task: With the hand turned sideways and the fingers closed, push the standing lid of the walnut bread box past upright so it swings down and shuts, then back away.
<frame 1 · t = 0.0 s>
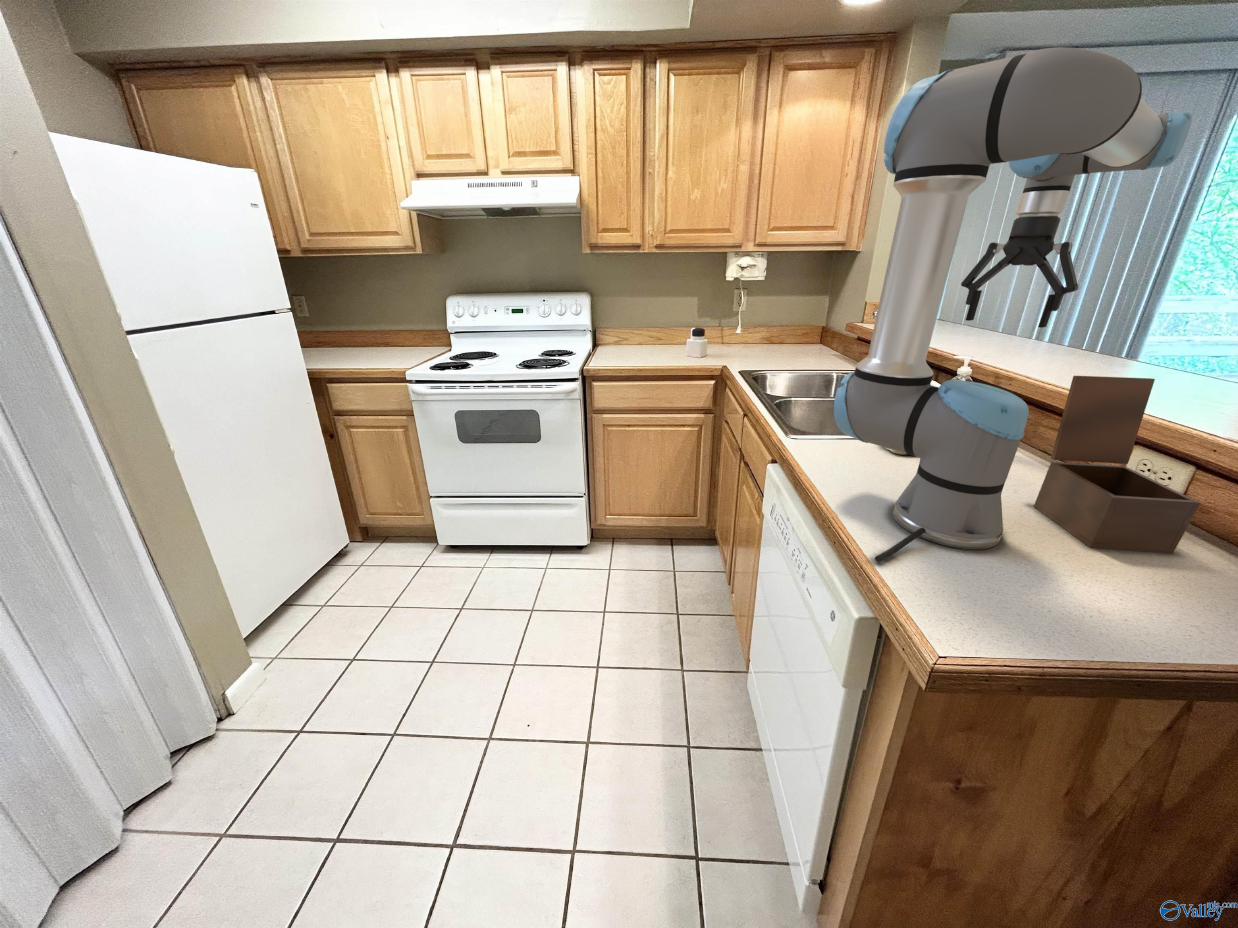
hand: (1004, 323, 108), 28 cm above the counter, tool pointing down, fingers open, 13 cm apart
pastry: (902, 451, 113), on the counter
lid: (1100, 420, 82), point 16 cm above the counter, hinge at 98.0°
medicine bottle: (696, 356, 216), on the counter
chest: (1097, 528, 81), on the counter
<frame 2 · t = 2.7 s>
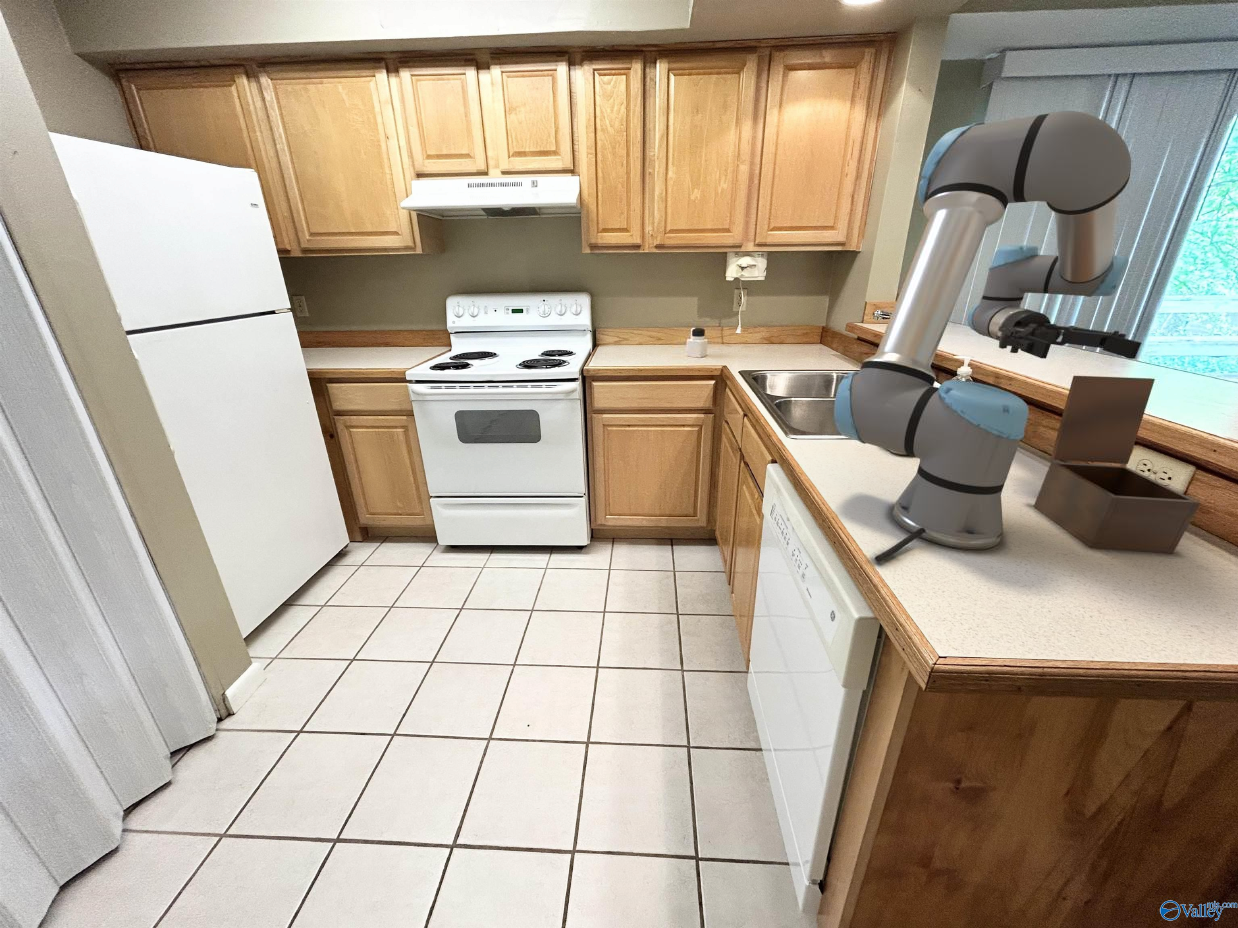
hand: (1090, 350, 84), 27 cm above the counter, tool horizontal, fingers open, 13 cm apart
nothing on the counter moved.
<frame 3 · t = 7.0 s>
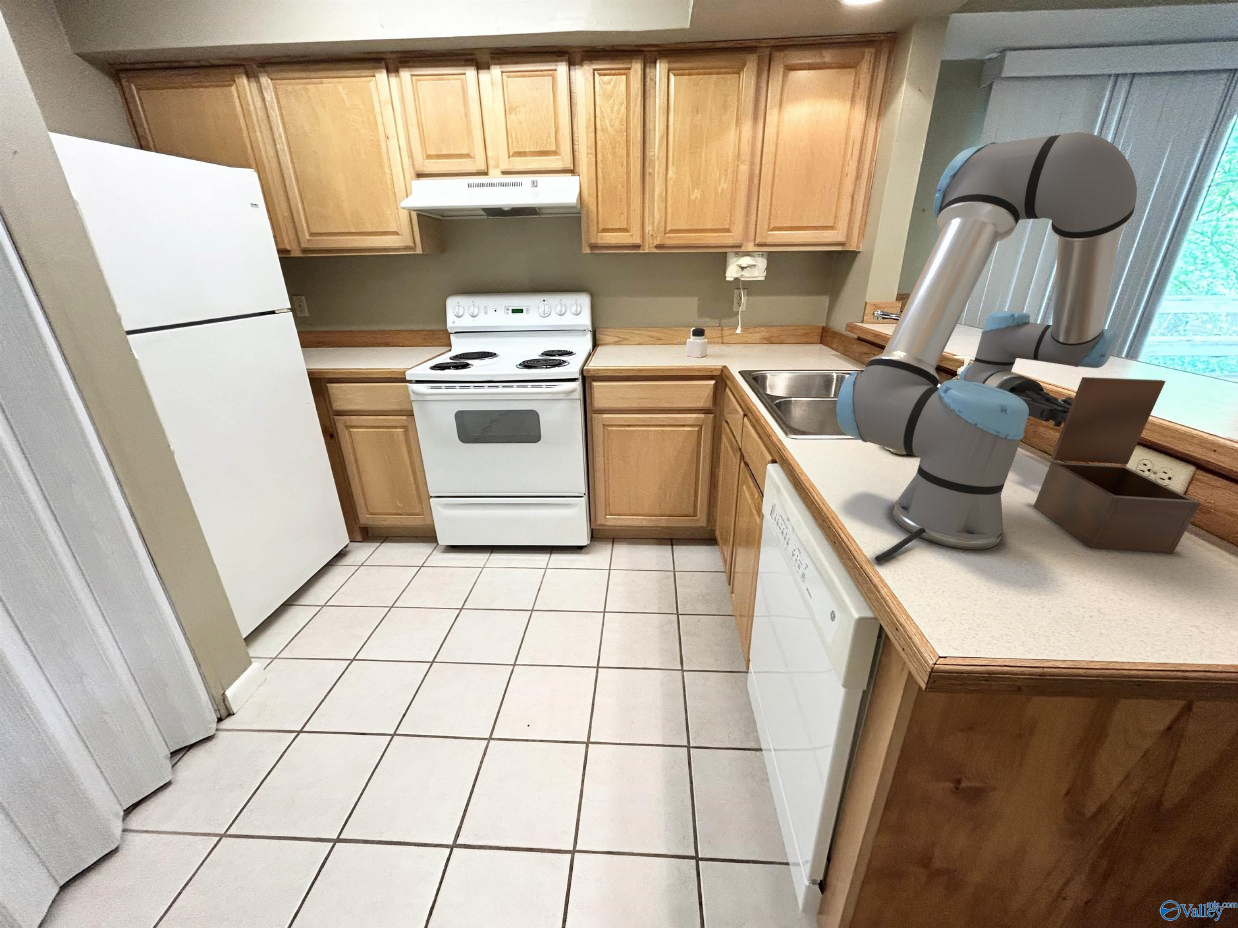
hand: (1098, 429, 82), 15 cm above the counter, tool horizontal, fingers closed
lid: (1105, 421, 81), point 16 cm above the counter, hinge at 90.4°, touching gripper
everything else where it was.
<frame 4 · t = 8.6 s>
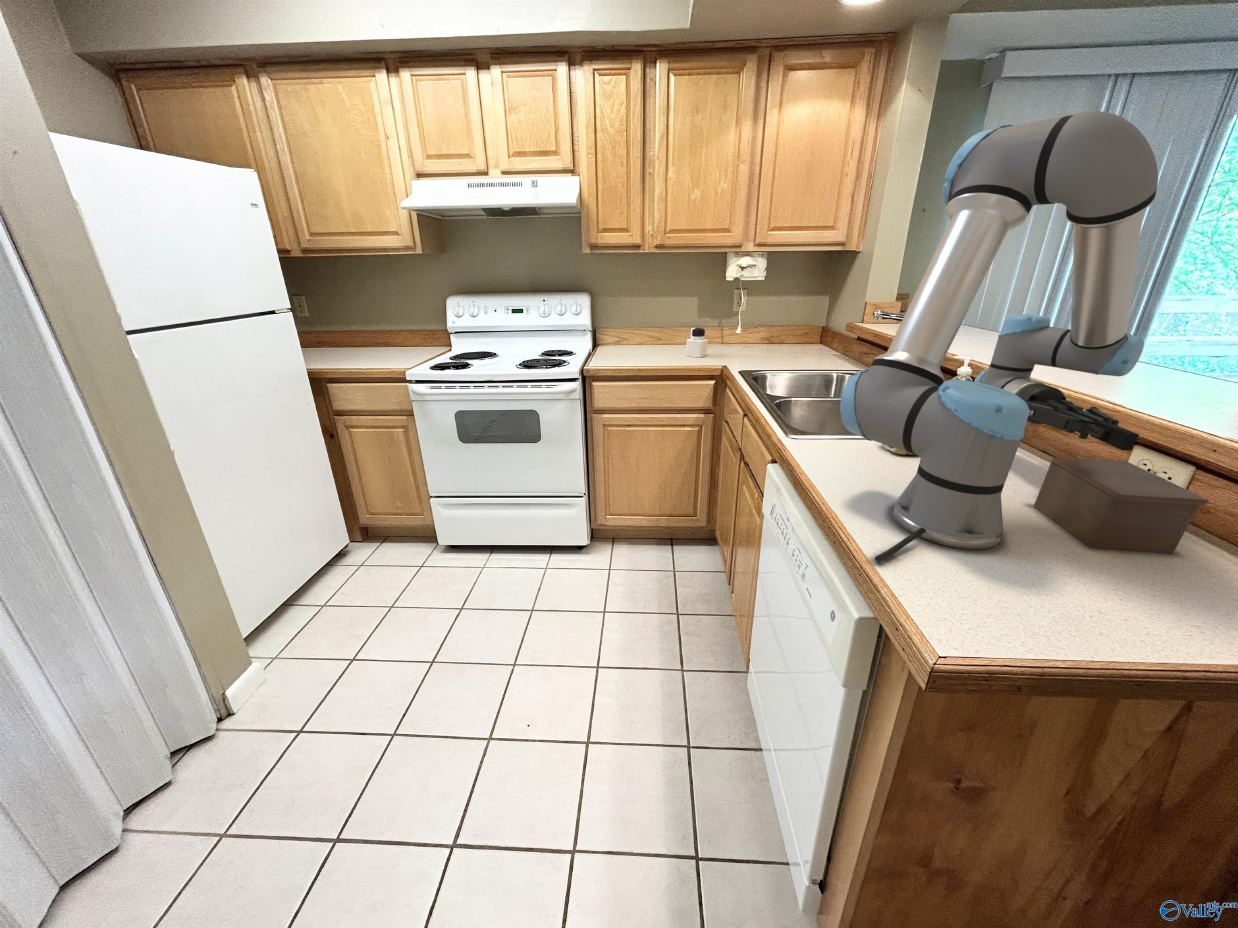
hand: (1130, 442, 76), 15 cm above the counter, tool horizontal, fingers closed
lid: (1122, 479, 77), point 9 cm above the counter, hinge at -0.2°
everything else where it was.
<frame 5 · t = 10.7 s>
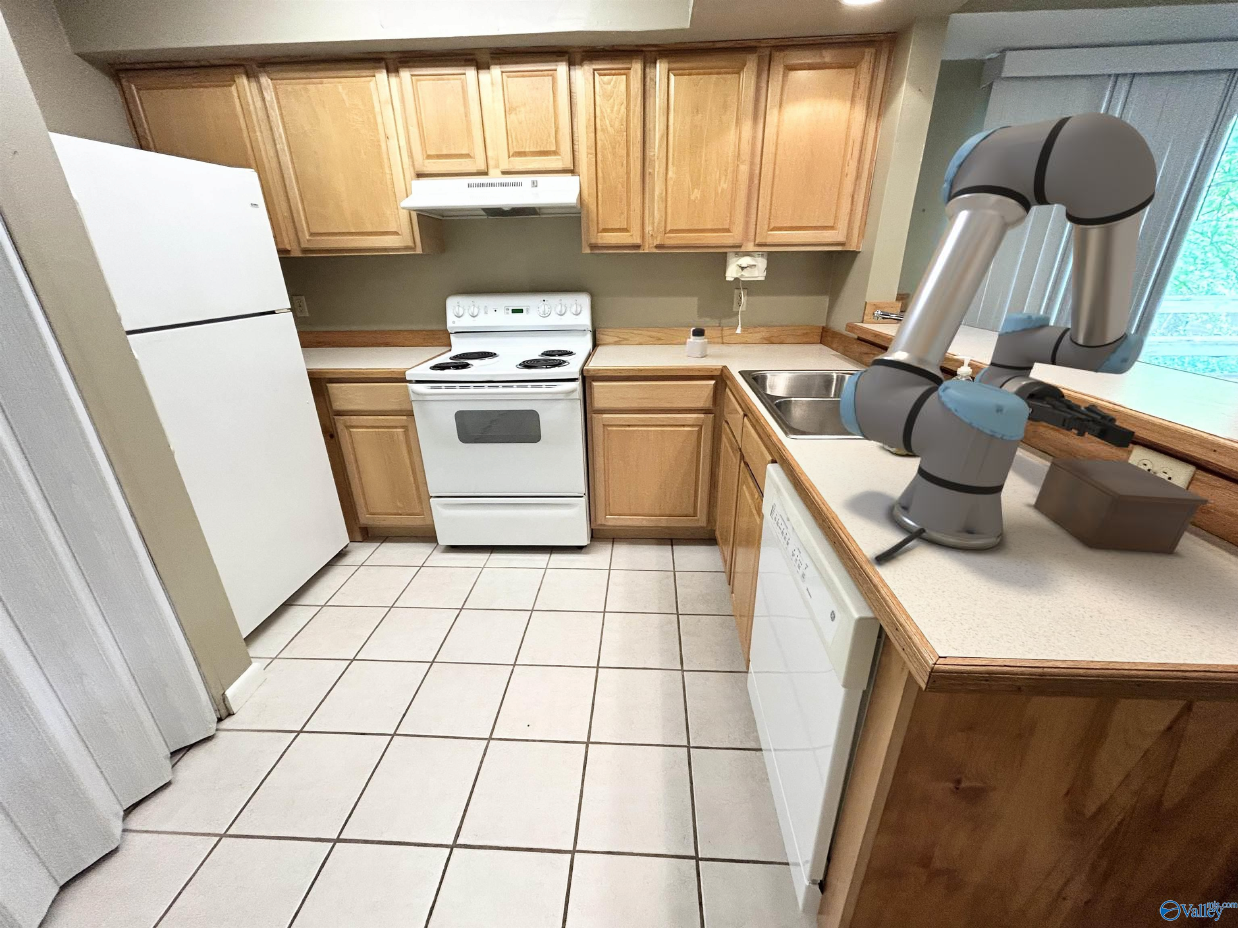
hand: (1126, 439, 77), 15 cm above the counter, tool horizontal, fingers closed
nothing on the counter moved.
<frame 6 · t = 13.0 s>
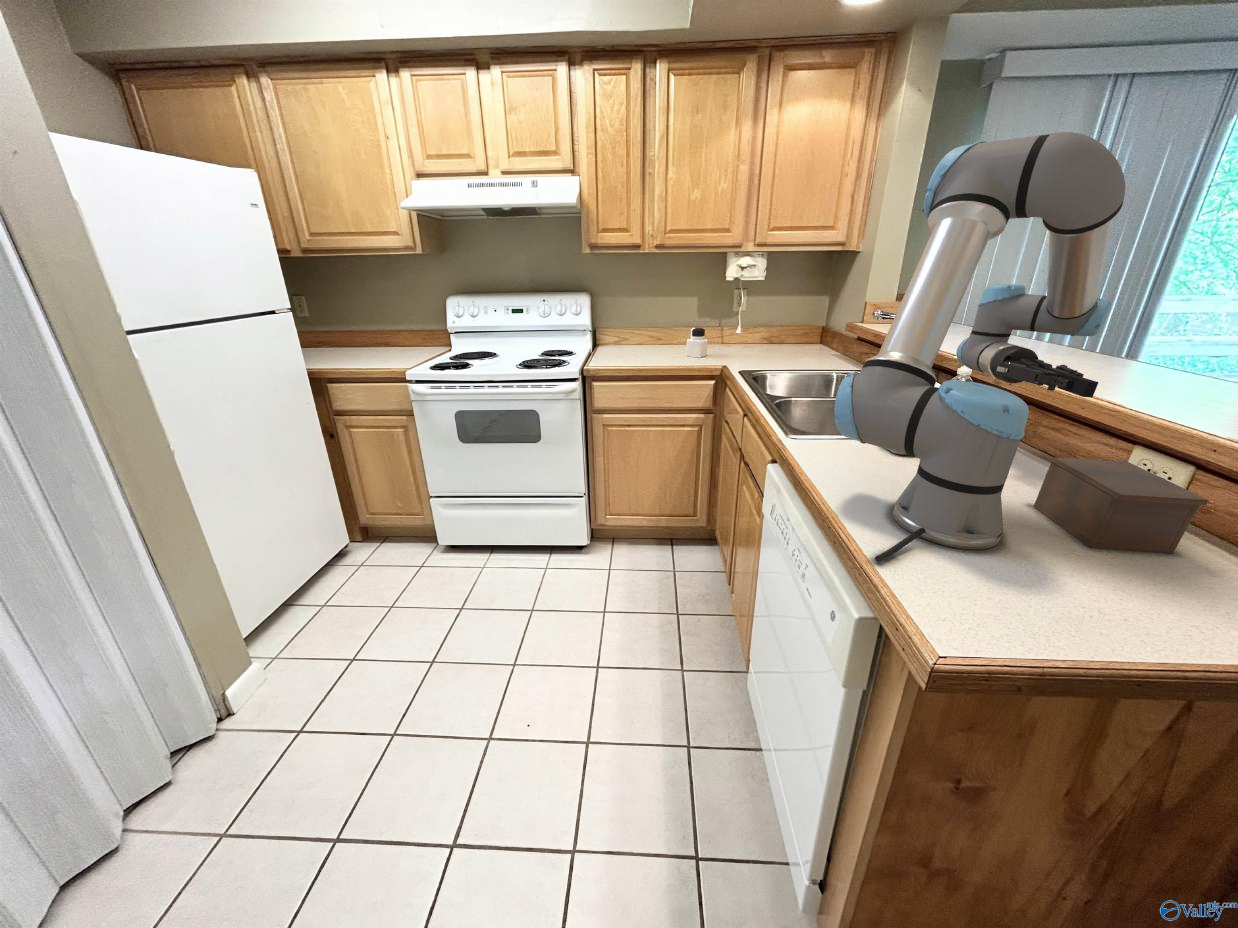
hand: (1090, 389, 84), 21 cm above the counter, tool horizontal, fingers closed
nothing on the counter moved.
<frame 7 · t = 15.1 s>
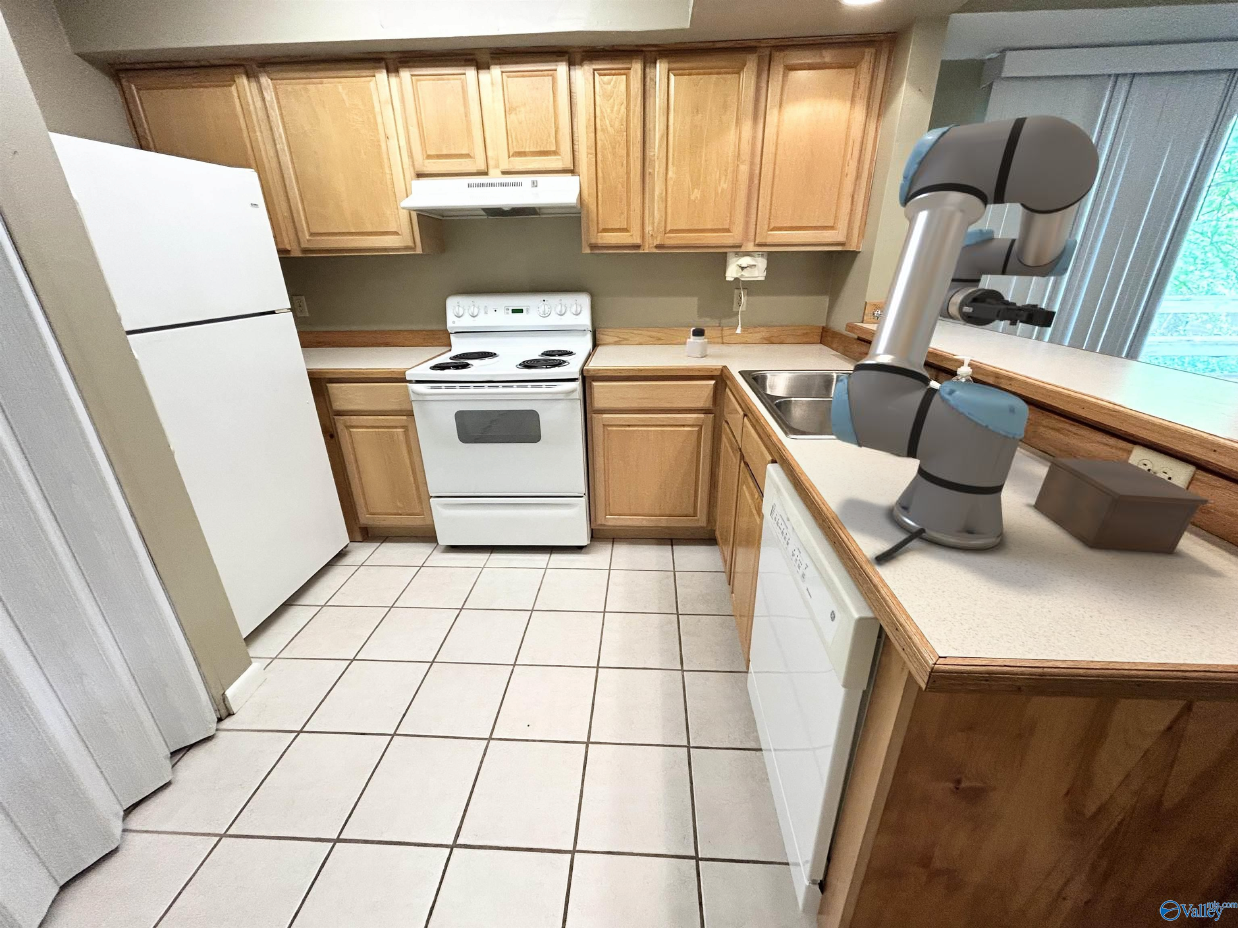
hand: (1048, 319, 85), 32 cm above the counter, tool horizontal, fingers closed
nothing on the counter moved.
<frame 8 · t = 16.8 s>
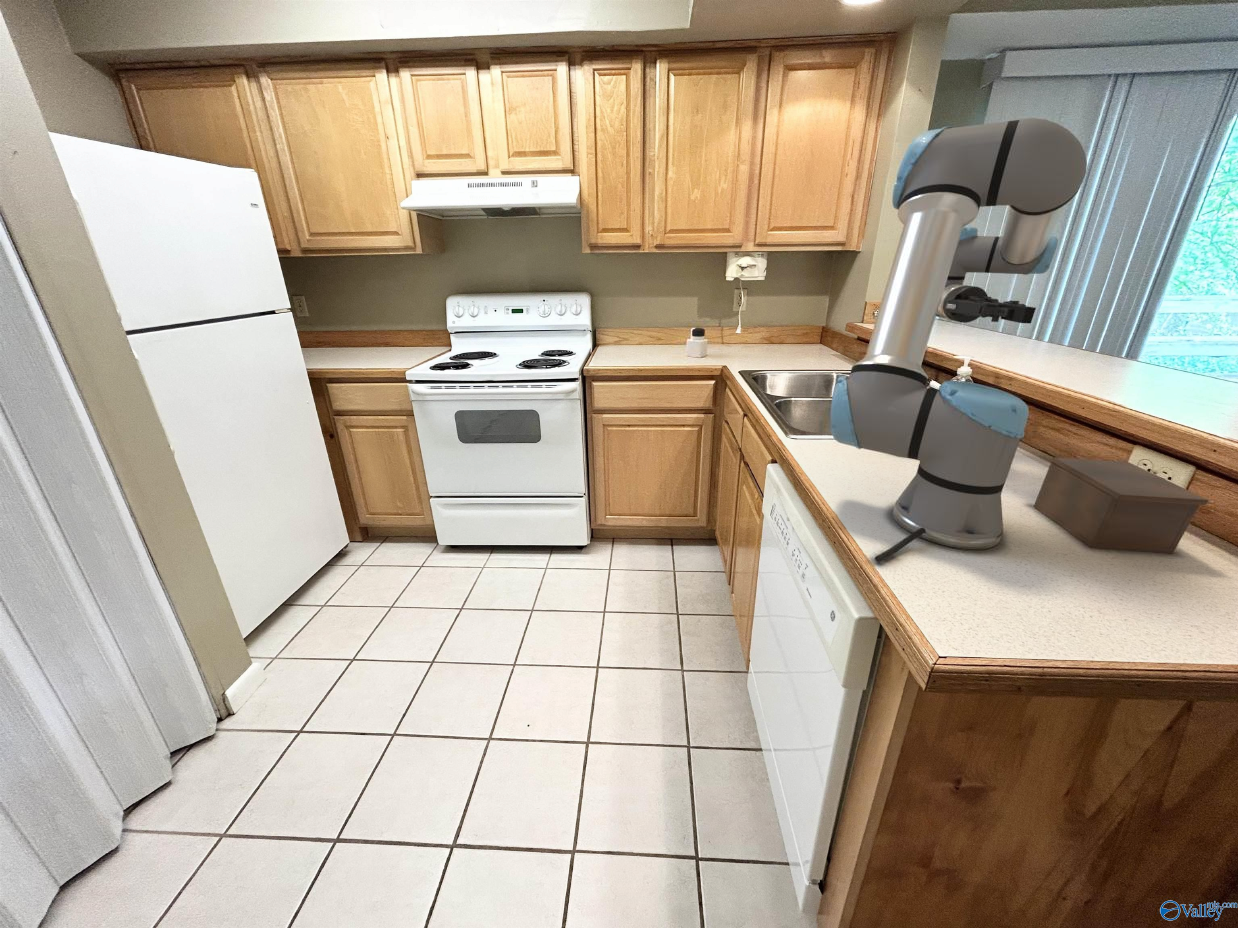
hand: (1028, 315, 86), 32 cm above the counter, tool horizontal, fingers closed
nothing on the counter moved.
at the end: lid at +0° (first picture: +98°) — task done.
